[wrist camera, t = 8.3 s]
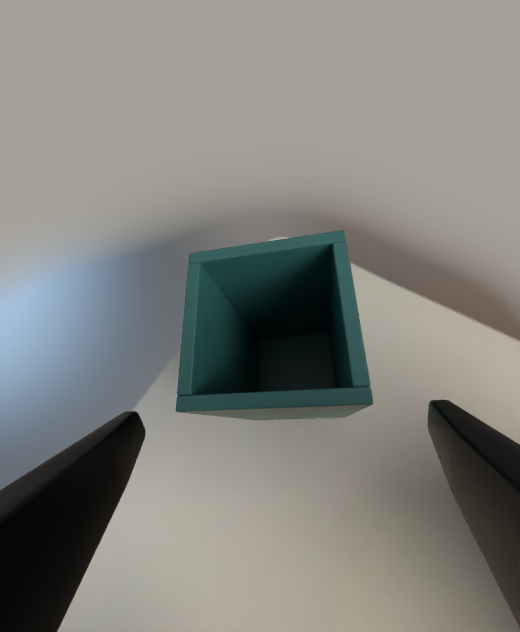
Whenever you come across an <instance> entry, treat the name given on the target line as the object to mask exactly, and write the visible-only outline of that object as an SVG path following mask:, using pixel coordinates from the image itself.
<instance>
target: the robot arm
mask: <svg viewBox="0 0 520 632" xmlns="http://www.w3.org/2000/svg"><path fill="white" fill-rule="evenodd" d="M427 424H428V430H429V433H430V436H431V439H432V441H433V444H434V447H435V449H436V452H437V455H438V457H439V460H440V463H441V465H442V468H443V471H444V473H445V476H446V479H447V481H448V484H449V486H450V489H451V491H452V493H453V495H454V497H455V499H456V501H457V503H458V505H459V507H460V509H461V511H462V513H463V515H464V517H465V519H466V521H467V523H468V525H469V527H470V529H471V531H472V533H473V535H474V537H475V539H476V541H477V543H478V545H479V547H480V549H481V551H482V553H483V555H484V557H485V559H486V561H487V563H488V565H489V567H490V569H491V571H492V573H493V575H494V577H495V579H496V581H497V583H498V585H499V587H500V589H501V591H502V593H503V595H504V597H505V599H506V601H507V603H508V605H509V607H510V609H511V611H512V613H513V615H514V617H515V619H516V621H517V623H518V625H519V627H520V445H519V444H518V443H516V442H514V441H513V440H511V439H510V438H508V437H506V436H505V435H503V434H501V433H500V432H498V431H497V430H495V429H493V428H492V427H490V426H489V425H487V424H485V423H484V422H482V421H480V420H479V419H477V418H476V417H474V416H472V415H471V414H469V413H468V412H466V411H464V410H463V409H461V408H460V407H458V406H456V405H455V404H453V403H451V402H450V401H448V400H432V401H430V403H429V409H428V422H427ZM144 438H145V428H144V425H143V423H142V421H141V418H140V416H139V414H138V413H137V412H135V411H131V412H124V413H122V414H120V415H119V416H117V417H115V418H114V419H112V420H111V421H109V422H108V423H106V424H104V425H103V426H101V427H100V428H98V429H97V430H95V431H93V432H92V433H90V434H89V435H87V436H85V437H84V438H82V439H81V440H79V441H78V442H76V443H74V444H73V445H71V446H70V447H68V448H66V449H65V450H63V451H62V452H60V453H58V454H57V455H55V456H54V457H52V458H51V459H49V460H47V461H46V462H44V463H43V464H41V465H40V466H38V467H36V468H35V469H33V470H32V471H30V472H29V473H27V474H25V475H24V476H22V477H20V478H19V479H17V480H16V481H14V482H13V483H11V484H10V485H8V486H6V487H5V488H3V489H2V490H0V632H57V631H58V629H59V627H60V625H61V623H62V621H63V618H64V616H65V614H66V612H67V610H68V608H69V606H70V604H71V602H72V600H73V597H74V595H75V593H76V591H77V589H78V587H79V585H80V583H81V581H82V579H83V576H84V574H85V572H86V570H87V568H88V566H89V564H90V562H91V560H92V557H93V555H94V553H95V551H96V549H97V547H98V545H99V543H100V541H101V539H102V536H103V534H104V532H105V530H106V528H107V526H108V524H109V522H110V520H111V518H112V515H113V513H114V511H115V509H116V507H117V505H118V503H119V501H120V499H121V496H122V494H123V492H124V490H125V488H126V486H127V483H128V481H129V478H130V476H131V473H132V471H133V468H134V465H135V463H136V460H137V457H138V455H139V452H140V449H141V447H142V444H143V441H144Z"/></svg>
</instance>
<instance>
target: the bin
mask: <svg viewBox="0 0 520 632" xmlns="http://www.w3.org/2000/svg"><path fill="white" fill-rule="evenodd" d="M369 386H370V379H369V373H368V367H367V361H366V355H365V349H364V343H363V337H362V331H361V325H360V319H359V313H358V307H357V301H356V295H355V289H354V283H353V277H352V271H351V265H350V260H349V254H348V247H347V243H346V235H345V231H344V230H341V231H334V232H328V233H321V234H314V235H308V236H301V237H295V238H288V239H281V240H275V241H268V242H261V243H255V244H248V245H243V246H235V247H229V248H222V249H215V250H209V251H202V252H196V253H190V254H189V265H188V276H187V288H186V299H185V311H184V322H183V333H182V345H181V357H180V368H179V380H178V391H177V395H178V397H177V403H176V412H182V413H192V414H202V415H212V416H221V417H231V418H241V419H251V420H269V419H303V418H337V417H347V416H349V415H351V414H353V413H355V412H357V411H360V410H362V409H364V408H366V407H368V406H370V405H372V404H373V397H372V391H371V388H370V387H369Z"/></svg>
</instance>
